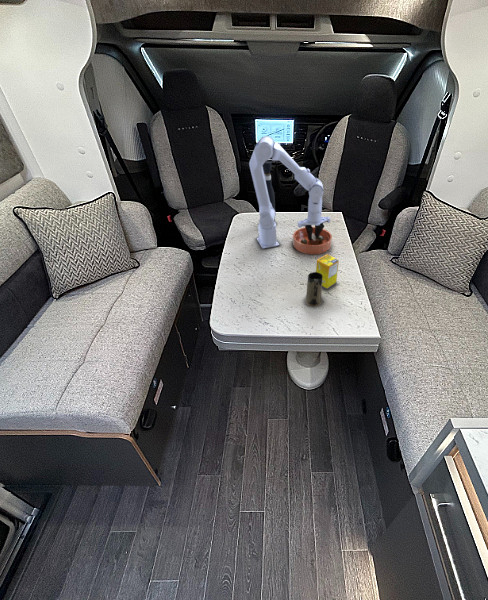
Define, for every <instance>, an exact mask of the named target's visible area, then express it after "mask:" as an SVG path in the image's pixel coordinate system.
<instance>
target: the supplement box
mask: <svg viewBox="0 0 488 600" xmlns="http://www.w3.org/2000/svg"><path fill="white" fill-rule="evenodd" d="M339 262H340V260H339V259H338V258H336V257H334V256H332V255H330V254H328V253H327V254H325V255H323V256H321V257H319V258H317V259H316V267H315V272H318V273H320V274H322V276H323V279H322V289H323V290H325V291H327V290H329V289H331V288H332V287H334V286H335V285H337V281H338V272H339V271H338V270H339Z"/></svg>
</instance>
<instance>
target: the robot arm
mask: <svg viewBox="0 0 488 600" xmlns="http://www.w3.org/2000/svg"><path fill="white" fill-rule="evenodd" d="M270 159H271V161H279V162H280V163H281V164H283V166H284V167H286V168H287V169H288V170H289V171H291V173H293V174H294V180H295V181H297V182H298V183H299V184H300V186H302V187H303V188H304V190H306V191H308V196H309V197H308V202H307V205H308V206H307V218H304V219H303V220H300V221H297V227H298V229H301V228H303V227H304V228H306V231H307V234H308V239H309V240H310V241H311V240H312V232H313V228H312V227H313V226H314V227H315V236H316V237H317V238H319V235H320V233H321V231H322V229H324V228H325V224H324V223H327V224H328V223H331V217H329V216H322V213H323V211H322V210H323V196H324V194H325V193H324V184H323V183H322V180H320V179H319V178H318V177H315V176H314V175H313V174H312V173H311V169H309V168H306V167H305V166H300V165H299V164H298V163H297V162H296V161H295V160H294V159H293V158H292V157H291V156H290V154H289V153H288V152H287V151H286V150H285V149H284V148H283V147H282V146H281V144H280V143H279V142H277V141H275V140H274V138H272V137H271V136H270V135H264V136H262V137H260V138H259V140H258V141H257V143H256V144H255V147H254V149H253V151H252V154H251V157H250V160H249V162H248V164H249V169H250V173H251V174H250V175H251V178H252V182H253V187H254V190H255V195H256V199H257V203H258V208H259V210H258V211H259V220H258V226H257V230H258V237H257V238H256V240H257V242H258V244H259V245H260V246H261V249H269V248H274V247H279V246H280V243H279V242H278V240H277V222H276V215H277V212H276V209H275V210H274V209H273V207H272V204H271V202H270V199H269V194H268V190H267V185H266V180H265V176H264V175H265V174H264V170H263V164H264V163H265V161H269V160H270ZM274 219H275V221H274Z"/></svg>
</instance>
